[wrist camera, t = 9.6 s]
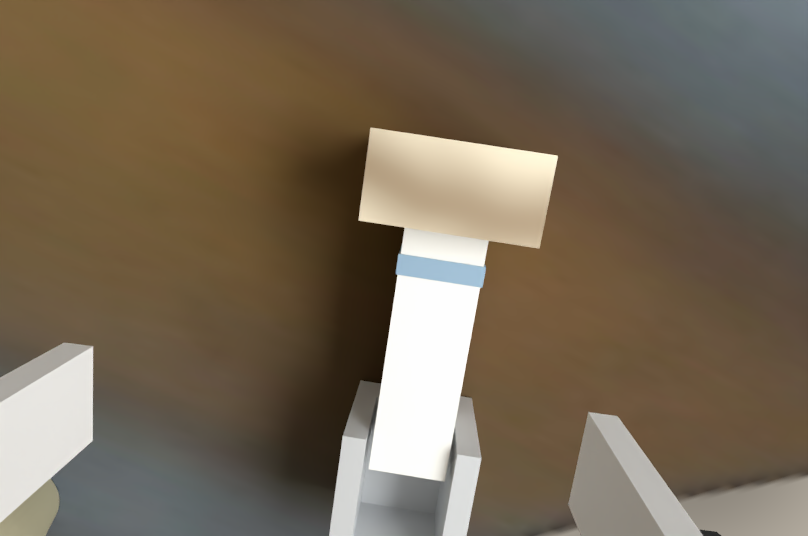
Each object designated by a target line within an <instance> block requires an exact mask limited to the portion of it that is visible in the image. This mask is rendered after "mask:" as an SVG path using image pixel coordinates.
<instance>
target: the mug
mask: <svg viewBox="0 0 808 536" xmlns="http://www.w3.org/2000/svg"><path fill="white" fill-rule="evenodd" d="M58 508H59V494H58V491H57V488H56V486H55V484H54V483H53V481H52V480H51V479H49V480H48V481H47V482H46V483H44V484H43V485H42V486H41V487H40V488H39V489H38V490H37V491H35V492H34V493H33V494H32V495H31V496H30V497H29V498H28V499H26V500H25V501H24V502H23V503H22V504H21V505H20V506H19V507H17V508H16V509H15V510H14V511H13V512H12V513H11V514H10V515H8V516H7V517H6V518H5V519H4V520H3V521H2V522H1V523H0V536H45V535H46V534H47V532H48V530H49V528H50V526H51V524H52V522H53V520H54V518H55V516H56V514H57V512H58Z"/></svg>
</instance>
